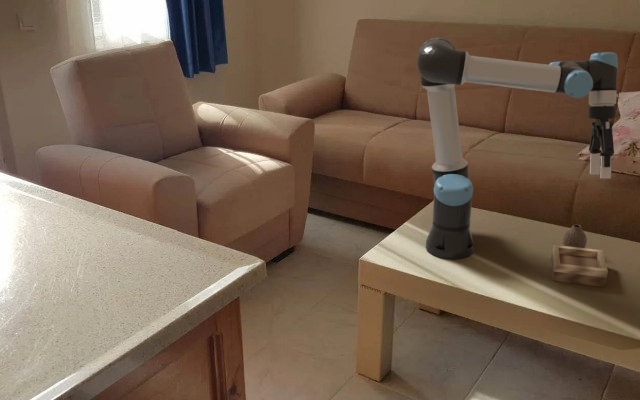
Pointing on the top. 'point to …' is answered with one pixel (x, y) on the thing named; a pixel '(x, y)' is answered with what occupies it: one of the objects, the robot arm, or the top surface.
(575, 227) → the vase
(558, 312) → the top surface
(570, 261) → the square wooden tray
